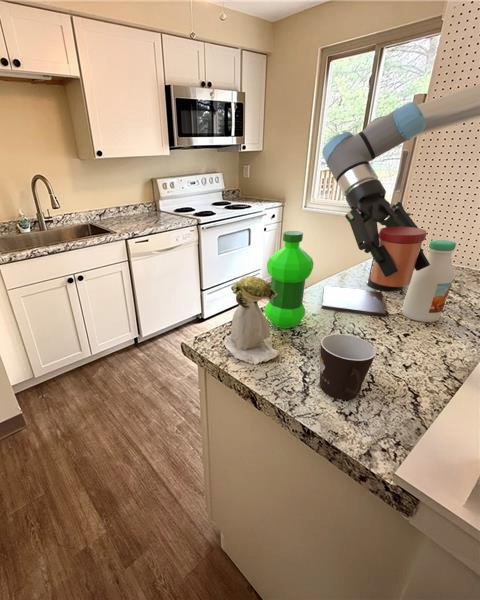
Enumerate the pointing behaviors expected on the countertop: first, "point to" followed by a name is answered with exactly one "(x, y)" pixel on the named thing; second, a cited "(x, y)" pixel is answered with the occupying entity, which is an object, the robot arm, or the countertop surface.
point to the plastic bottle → (288, 281)
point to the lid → (402, 234)
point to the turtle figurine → (251, 322)
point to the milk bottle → (430, 284)
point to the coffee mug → (344, 365)
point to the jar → (397, 264)
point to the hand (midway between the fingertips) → (407, 270)
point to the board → (353, 301)
